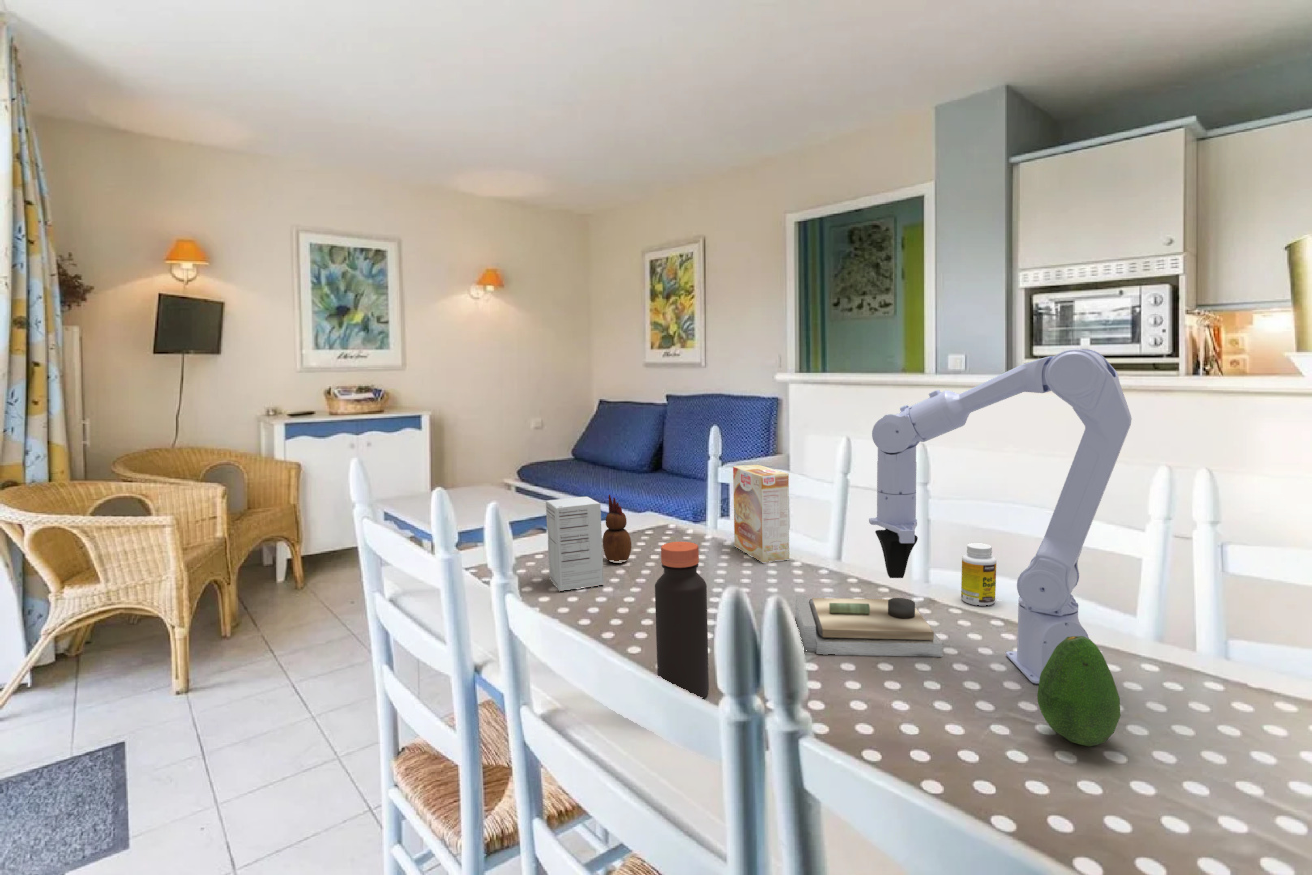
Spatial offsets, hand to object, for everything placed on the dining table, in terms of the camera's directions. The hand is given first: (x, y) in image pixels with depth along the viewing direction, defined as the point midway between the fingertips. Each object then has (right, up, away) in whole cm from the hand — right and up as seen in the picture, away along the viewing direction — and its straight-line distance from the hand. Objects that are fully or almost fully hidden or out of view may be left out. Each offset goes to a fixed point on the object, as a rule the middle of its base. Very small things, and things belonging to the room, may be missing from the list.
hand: (895, 576), depth 109 cm
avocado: (+10, -13, -30) cm, 34 cm away
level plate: (-4, -7, +1) cm, 8 cm away
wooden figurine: (-46, -6, +46) cm, 66 cm away
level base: (-4, -9, +1) cm, 10 cm away
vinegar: (-34, -12, -16) cm, 40 cm away
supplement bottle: (+20, -8, +15) cm, 26 cm away
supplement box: (-54, -8, +32) cm, 63 cm away
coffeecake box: (-14, -5, +50) cm, 52 cm away
